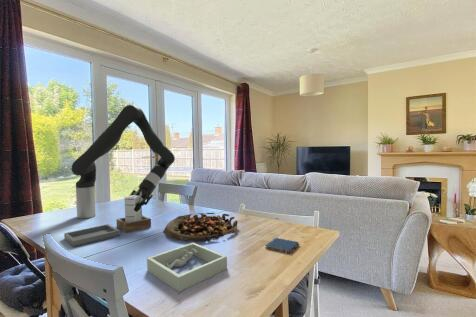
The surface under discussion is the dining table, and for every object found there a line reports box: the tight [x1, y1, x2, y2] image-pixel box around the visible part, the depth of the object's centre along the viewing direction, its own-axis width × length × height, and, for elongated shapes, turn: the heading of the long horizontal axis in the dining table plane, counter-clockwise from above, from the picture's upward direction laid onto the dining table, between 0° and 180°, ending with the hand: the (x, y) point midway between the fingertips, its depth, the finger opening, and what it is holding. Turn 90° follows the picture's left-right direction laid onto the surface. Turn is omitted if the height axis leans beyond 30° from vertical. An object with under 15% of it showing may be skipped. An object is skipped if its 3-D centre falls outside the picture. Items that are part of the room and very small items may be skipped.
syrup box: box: [123, 195, 143, 223], centre depth 127 cm, size 6×6×14 cm
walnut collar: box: [116, 214, 152, 233], centre depth 128 cm, size 12×12×4 cm
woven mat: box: [264, 237, 300, 254], centre depth 100 cm, size 10×11×2 cm
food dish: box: [162, 212, 239, 242], centre depth 122 cm, size 35×33×8 cm
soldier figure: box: [165, 248, 198, 270], centre depth 85 cm, size 8×5×12 cm
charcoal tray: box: [63, 223, 121, 248], centre depth 113 cm, size 14×18×2 cm
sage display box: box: [146, 242, 228, 293], centre depth 82 cm, size 18×18×4 cm
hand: (130, 209), depth 126 cm, fingers closed on syrup box, 7 cm apart
